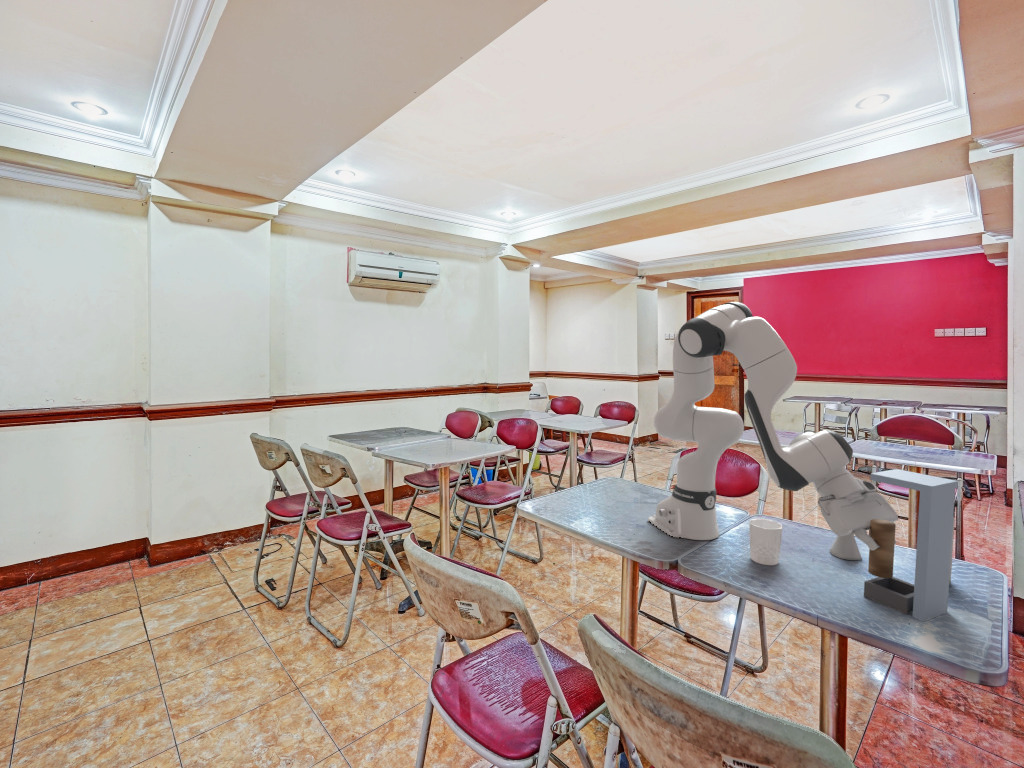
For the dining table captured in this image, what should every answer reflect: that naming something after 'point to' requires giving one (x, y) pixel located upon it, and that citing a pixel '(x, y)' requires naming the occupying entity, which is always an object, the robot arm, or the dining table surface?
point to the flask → (846, 547)
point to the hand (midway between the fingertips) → (884, 547)
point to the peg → (882, 548)
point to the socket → (891, 593)
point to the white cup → (765, 541)
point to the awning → (929, 538)
